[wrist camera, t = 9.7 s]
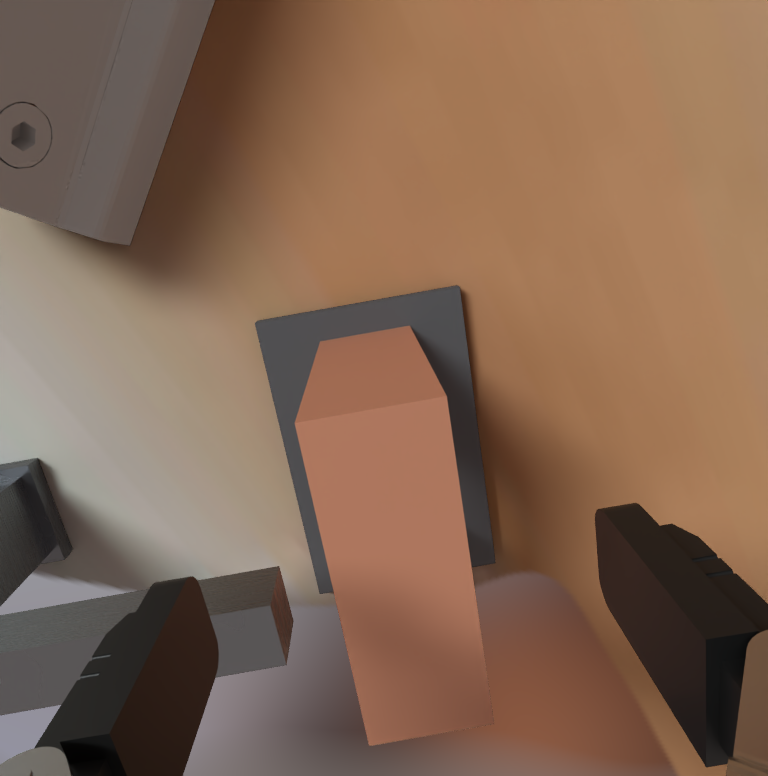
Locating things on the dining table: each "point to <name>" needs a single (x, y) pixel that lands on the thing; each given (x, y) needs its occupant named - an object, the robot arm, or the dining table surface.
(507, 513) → the dining table surface
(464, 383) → the mat
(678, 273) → the dining table surface
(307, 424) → the pink block
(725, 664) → the robot arm
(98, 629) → the bracket
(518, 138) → the dining table surface
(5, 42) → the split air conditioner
